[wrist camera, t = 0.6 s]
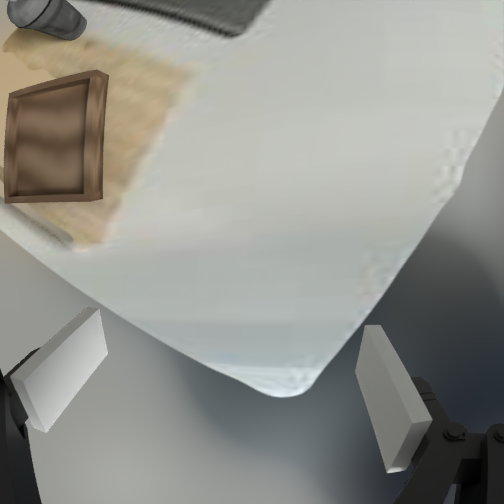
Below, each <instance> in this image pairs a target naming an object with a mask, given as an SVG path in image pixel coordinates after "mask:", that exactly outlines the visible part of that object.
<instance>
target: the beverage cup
mask: <svg viewBox="0 0 504 504" xmlns="http://www.w3.org/2000/svg"><path fill="white" fill-rule="evenodd" d="M7 1H9V2H8V6H7V14H8V17H9V19H10V21H11V22H12V23H13V24H15V25H16V26H17V27H19V28H25V29H34V30H37V31H40V32H43V33H46V34H50V35H53V36H56V37H59V38H61V39H67V40H75V39H76V38H78V37H79V36H80V35H81V34H82V33H83V32H84V30H85V28H86V24H87V21H86V19H85V18H84V17H83V16H82V15H81V13H80V12H78V11H77V10H76V9H75V8H74V7H73V6H72V5H71V4H70V3H69V2H67V1H66V0H7Z"/></svg>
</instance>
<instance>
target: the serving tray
mask: <svg viewBox="0 0 504 504" xmlns="http://www.w3.org/2000/svg"><path fill="white" fill-rule="evenodd" d="M108 79H109V75H107V74H105V73H103V72H101V71H99V70H93V71H88V72H84V73H79V74H75V75H70V76H66V77H62V78H58V79H55V80H51V81H47V82H44V83H40V84H37V85H33V86H30V87H27V88H24V89H20V90H17V91H15V92H12V93H9V99H8V108H7V118H6V130H5V149H4V150H5V151H4V195H5V204H6V203H35V202H91V201H95V200H100V199H103V142H104V123H105V109H106V98H107V88H108Z"/></svg>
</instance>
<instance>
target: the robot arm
mask: <svg viewBox="0 0 504 504" xmlns="http://www.w3.org/2000/svg"><path fill="white" fill-rule="evenodd" d="M107 354H108V351H107V346H106V342H105V337H104V332H103V327H102V321H101V316H100V311H99V309H98V308H91V307H87V308H86V309H85V310H83V311H82V312H81V313H80V314H79V315H77V317H75V318H74V319H73V320H72V321H71V322H69V323H68V324H67V325H66V326H65V327H64V328H62V329H61V330H60V331H59V332H58V333H57V334H56V335H55V336H53V337H52V338H51V339H50V340H49V341H48V342H47V343H46V344H44V345H43V346H42V347H40V348H38V349H36V350H34V351H32V352H30V353H29V354H28V355H27V356H26V357H25V359H23V360H21V362H20V364H19V363H18V364H17V365H16V366H15V367H14V368H13V369H12V370H11V371H10V372H8V373H7V375H5V376H4V377H3V375H2V372H1V370H0V504H42V503H41V499H40V495H39V491H38V487H37V483H36V478H35V473H34V468H33V462H32V457H31V451H30V444H29V439H28V430H27V427H26V424H25V421H26V420H27V419H28V418H29V420H30V422H31V424H32V426H33V428H36V429H38V430H41V431H43V432H45V433H47V432H48V430H49V429H50V428H51V426H52V425H53V424H54V422H55V421H56V420H57V418H58V417H59V416H60V414H61V413H62V412H63V410H64V409H65V408H66V406H67V405H68V404H69V403H70V401H71V400H72V399H73V397H74V396H75V395H76V393H77V392H78V391H79V389H80V388H81V387H82V386H83V384H84V383H85V382H86V381H87V379H88V378H89V377H90V375H91V374H92V373H93V372H94V370H95V369H96V368H97V367H98V365H99V364H100V363H101V362H102V360H103V359H104V358H105V357H106V355H107ZM355 373H356V376H357V379H358V382H359V385H360V388H361V391H362V393H363V396H364V399H365V403H366V406H367V409H368V412H369V415H370V418H371V421H372V424H373V427H374V431H375V434H376V437H377V441H378V444H379V447H380V451H381V454H382V457H383V461H384V464H385V468H386V471H387V473H391V472H397V471H403V470H406V469H407V467H408V466H409V464H410V462H411V461H412V464H413V466H414V470H413V472H412V473H411V475H410V476H409V478H408V479H407V481H406V483H405V485H404V487H403V488H402V490H401V492H400V493H399V494H398V496H397V498H396V499H395V501H394V502H393V504H443V502H444V500H445V498H446V496H447V494H448V491H449V489H450V487H451V485H452V484H456V493H455V500H454V504H504V424H501V423H500V424H494V425H491V426H490V428H489V429H488V430H487V432H486V433H485V434H478V433H468V431H467V429H466V428H464V426H463V425H461V424H459V423H456V422H451V421H450V419H449V417H448V415H447V414H446V412H445V410H444V408H443V407H442V405H441V403H440V402H439V400H437V396H436V395H435V393H433V390H432V388H431V386H430V385H429V383H428V382H426V381H425V380H424V379H422V378H421V377H412V378H410V376H409V375H408V373H407V371H406V369H405V367H404V366H403V364H402V362H401V360H400V359H399V357H398V355H397V353H396V352H395V350H394V348H393V346H392V345H391V343H390V341H389V339H388V338H387V336H386V334H385V333H384V331H383V329H382V328H381V326H380V325H365V329H364V333H363V339H362V343H361V348H360V353H359V357H358V362H357V367H356V371H355Z"/></svg>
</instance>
